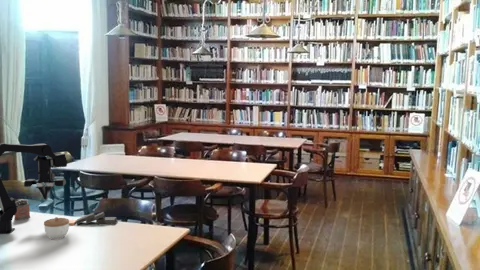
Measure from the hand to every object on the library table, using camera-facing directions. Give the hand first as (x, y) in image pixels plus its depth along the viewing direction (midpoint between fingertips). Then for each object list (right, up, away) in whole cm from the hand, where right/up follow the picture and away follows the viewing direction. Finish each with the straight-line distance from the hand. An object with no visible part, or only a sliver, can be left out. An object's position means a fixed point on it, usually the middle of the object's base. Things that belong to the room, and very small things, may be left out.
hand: (45, 199), depth 227 cm
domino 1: (+5, -13, +2) cm, 14 cm away
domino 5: (+25, -13, +5) cm, 29 cm away
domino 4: (+25, -11, +5) cm, 27 cm away
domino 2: (+15, -12, +3) cm, 19 cm away
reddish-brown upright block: (-17, -12, +11) cm, 24 cm away
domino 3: (+19, -12, +4) cm, 23 cm away
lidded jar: (+13, -15, -18) cm, 27 cm away
